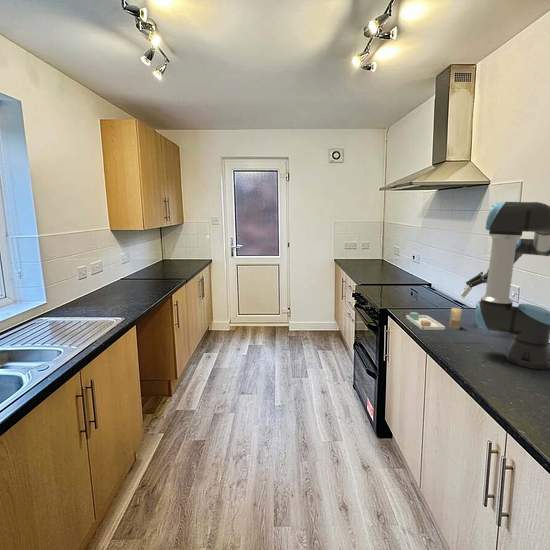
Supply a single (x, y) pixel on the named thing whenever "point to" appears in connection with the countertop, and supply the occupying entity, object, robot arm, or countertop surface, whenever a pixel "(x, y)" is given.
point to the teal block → (414, 315)
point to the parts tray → (434, 324)
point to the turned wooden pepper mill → (455, 318)
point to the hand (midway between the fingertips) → (471, 300)
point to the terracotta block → (425, 323)
